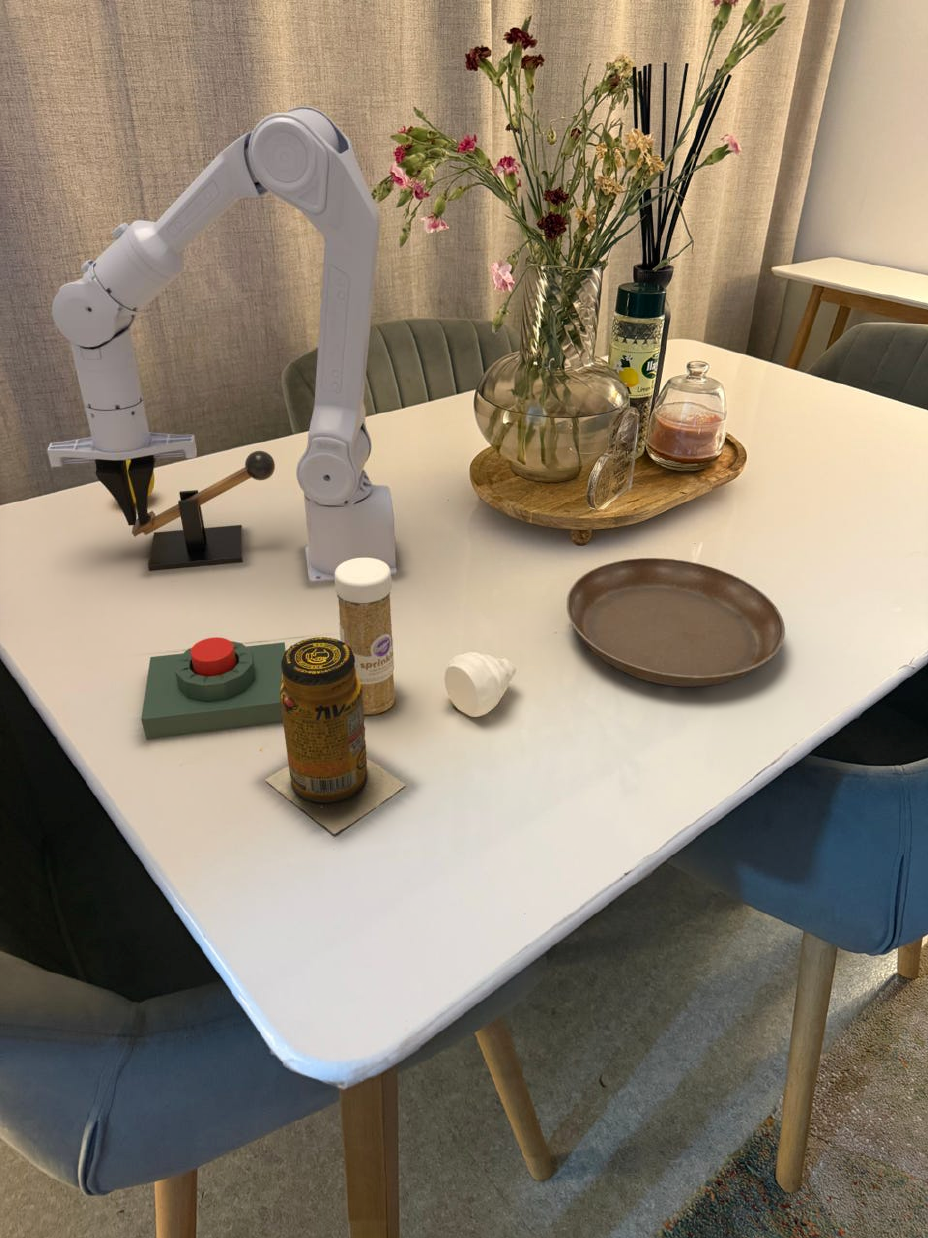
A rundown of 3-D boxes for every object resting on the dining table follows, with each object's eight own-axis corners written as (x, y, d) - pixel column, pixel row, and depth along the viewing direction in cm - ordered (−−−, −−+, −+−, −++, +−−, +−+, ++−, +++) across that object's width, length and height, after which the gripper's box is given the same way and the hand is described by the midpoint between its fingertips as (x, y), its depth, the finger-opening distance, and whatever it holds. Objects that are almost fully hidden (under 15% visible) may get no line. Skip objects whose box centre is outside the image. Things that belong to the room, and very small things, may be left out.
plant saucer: (825, 662, 84) (833, 633, 82) (655, 730, 75) (660, 700, 74) (680, 567, 99) (684, 540, 97) (524, 615, 90) (525, 587, 89)
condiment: (336, 737, 74) (324, 618, 68) (406, 786, 70) (401, 663, 63) (265, 782, 70) (245, 658, 63) (334, 837, 65) (321, 710, 58)
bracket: (242, 532, 105) (234, 477, 101) (243, 564, 99) (234, 507, 95) (155, 539, 104) (143, 484, 100) (149, 573, 97) (137, 515, 93)
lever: (280, 464, 99) (264, 441, 97) (281, 476, 97) (265, 452, 95) (147, 536, 101) (130, 515, 99) (145, 550, 98) (127, 528, 96)
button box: (287, 661, 84) (282, 625, 81) (291, 721, 76) (286, 684, 74) (154, 676, 81) (146, 640, 79) (146, 739, 74) (136, 702, 72)
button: (236, 651, 79) (233, 635, 78) (236, 675, 76) (233, 658, 75) (194, 656, 78) (191, 639, 77) (192, 680, 75) (189, 663, 74)
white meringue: (531, 700, 79) (534, 650, 76) (482, 730, 75) (484, 678, 72) (487, 673, 82) (489, 624, 79) (439, 700, 79) (439, 650, 76)
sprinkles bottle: (377, 723, 76) (369, 588, 69) (334, 706, 78) (322, 574, 71) (406, 694, 79) (401, 563, 72) (364, 679, 81) (355, 550, 74)
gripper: (189, 384, 95) (207, 500, 102) (45, 391, 92) (74, 509, 100) (186, 407, 89) (205, 528, 97) (32, 415, 86) (64, 539, 94)
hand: (138, 520), depth 98 cm, fingers closed
